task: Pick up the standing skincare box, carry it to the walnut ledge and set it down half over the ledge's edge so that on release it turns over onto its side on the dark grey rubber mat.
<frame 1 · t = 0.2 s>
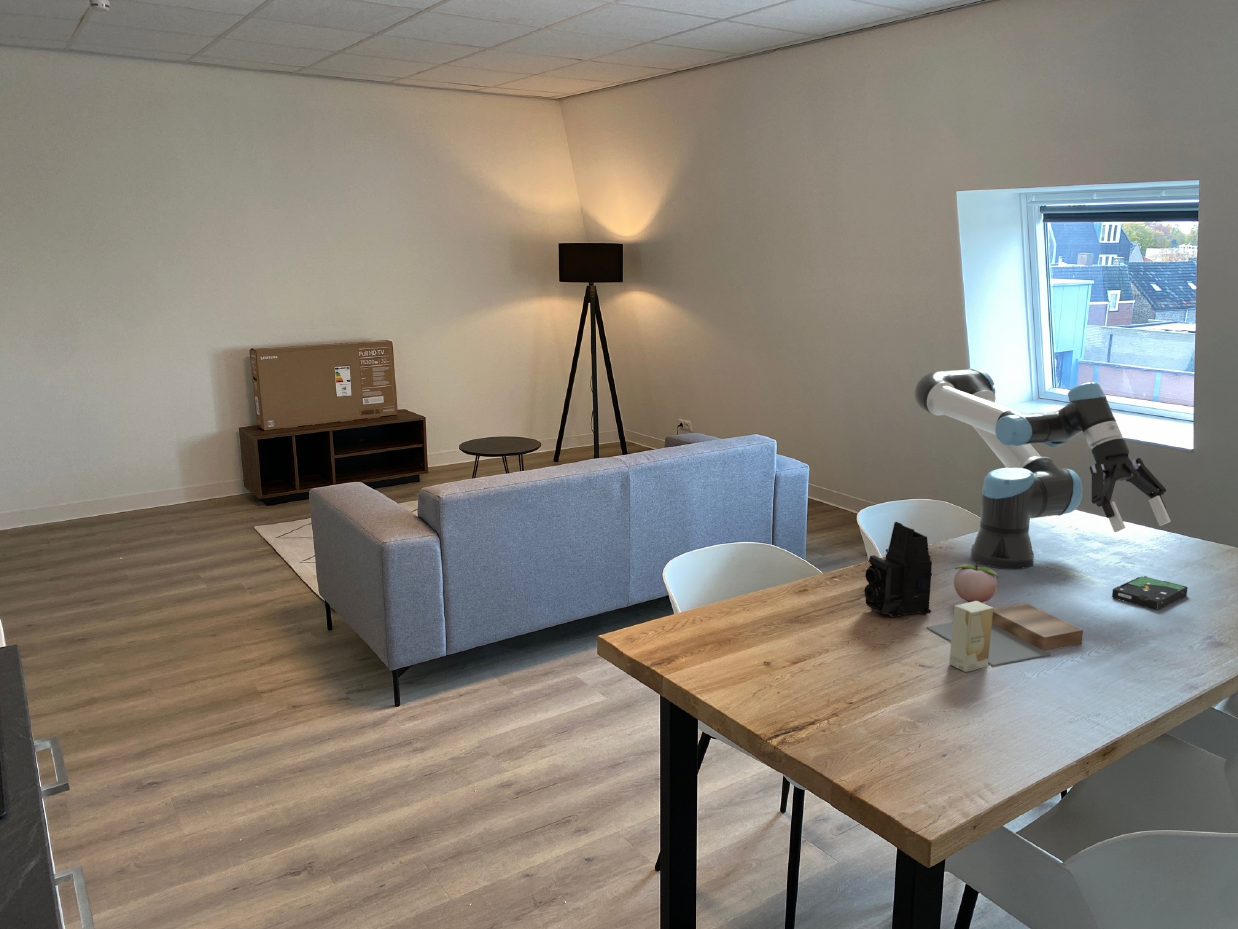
hand: (1142, 527, 215), 16 cm above the table, tool tilted 35°, fingers open, 13 cm apart
decorative fruit: (973, 606, 211), on the table
camera: (894, 613, 207), on the table
disk drive: (1148, 599, 215), on the table
rubber mat: (986, 641, 191), on the table
walnut ledge: (1033, 632, 195), on the table
skincare box: (968, 666, 180), on the table
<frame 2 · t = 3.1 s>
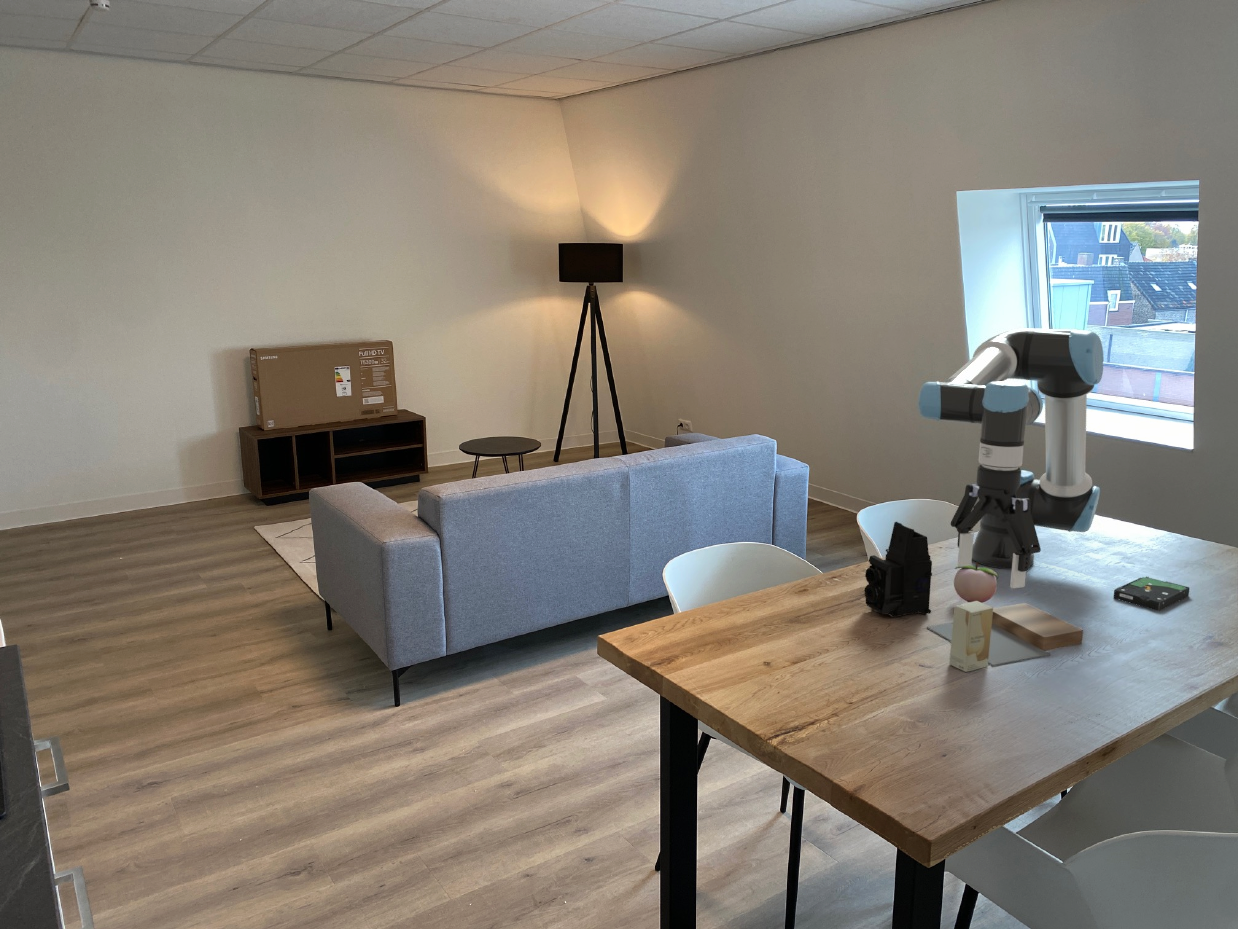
hand: (989, 576, 176), 18 cm above the table, tool pointing down, fingers open, 13 cm apart
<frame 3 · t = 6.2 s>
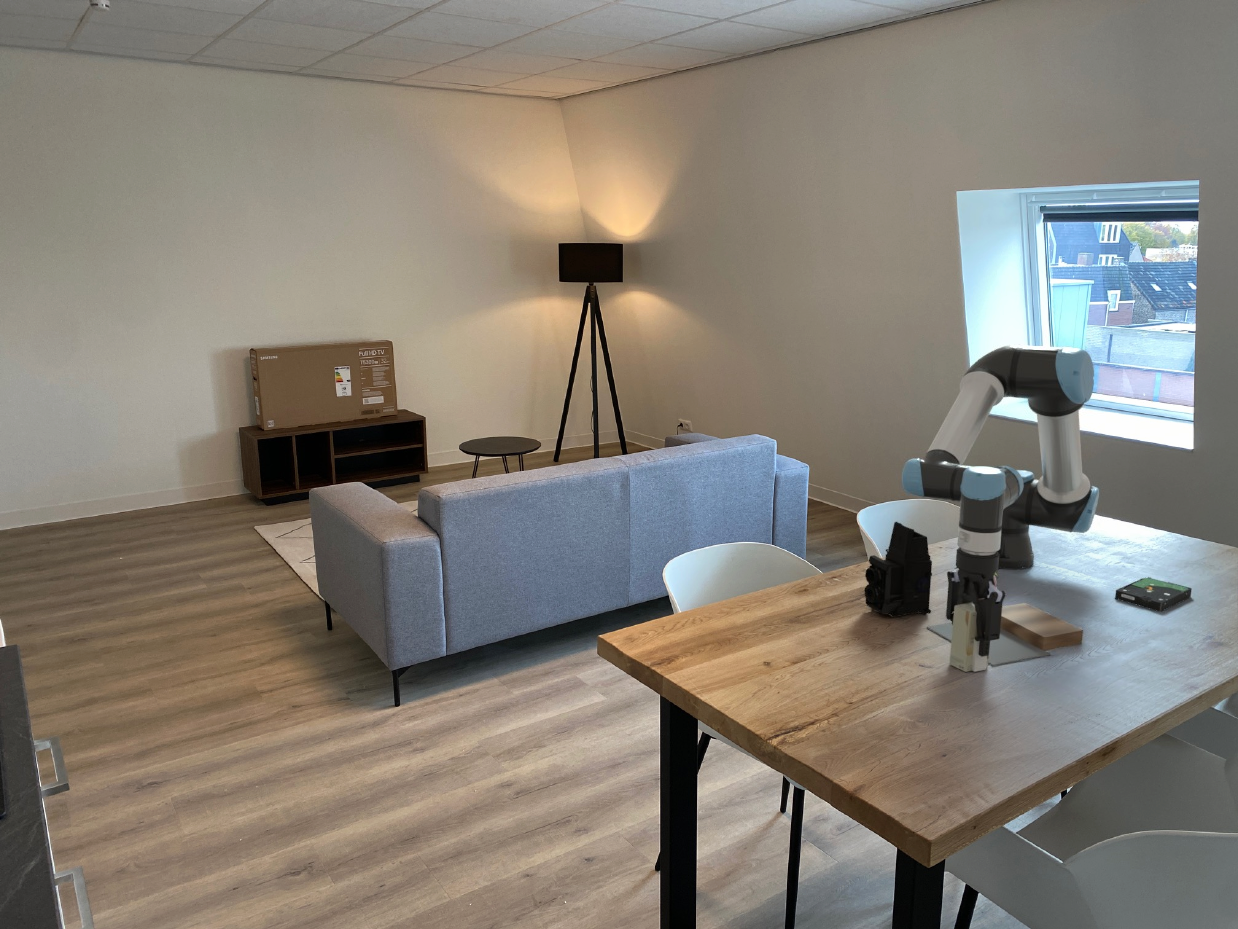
hand: (969, 663, 180), 0 cm above the table, tool pointing down, fingers closed on skincare box, 5 cm apart
skincare box: (968, 666, 180), on the table, touching gripper
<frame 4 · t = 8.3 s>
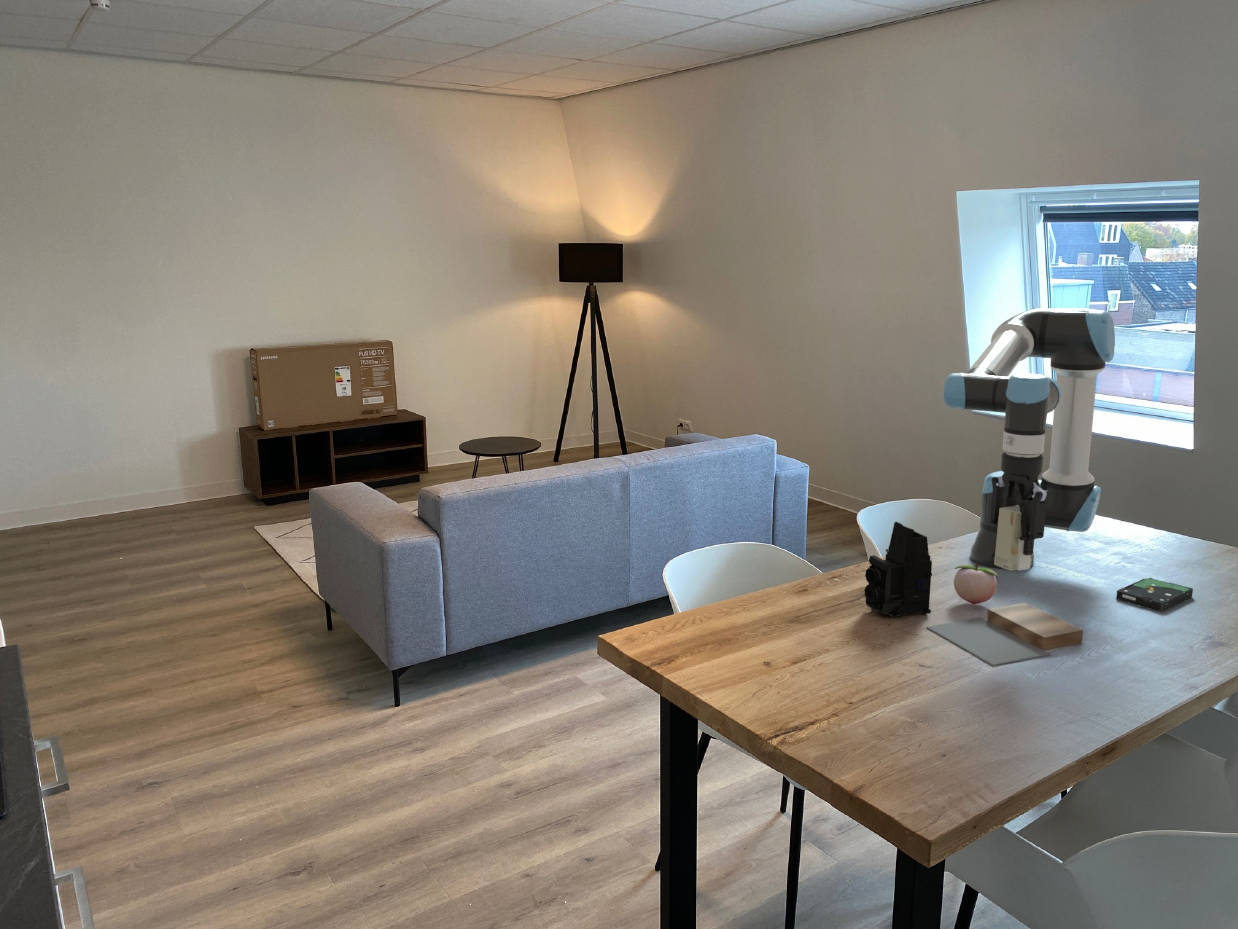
hand: (1013, 564, 189), 16 cm above the table, tool pointing down, fingers closed on skincare box, 5 cm apart
skincare box: (1012, 566, 189), point 16 cm above the table, touching gripper
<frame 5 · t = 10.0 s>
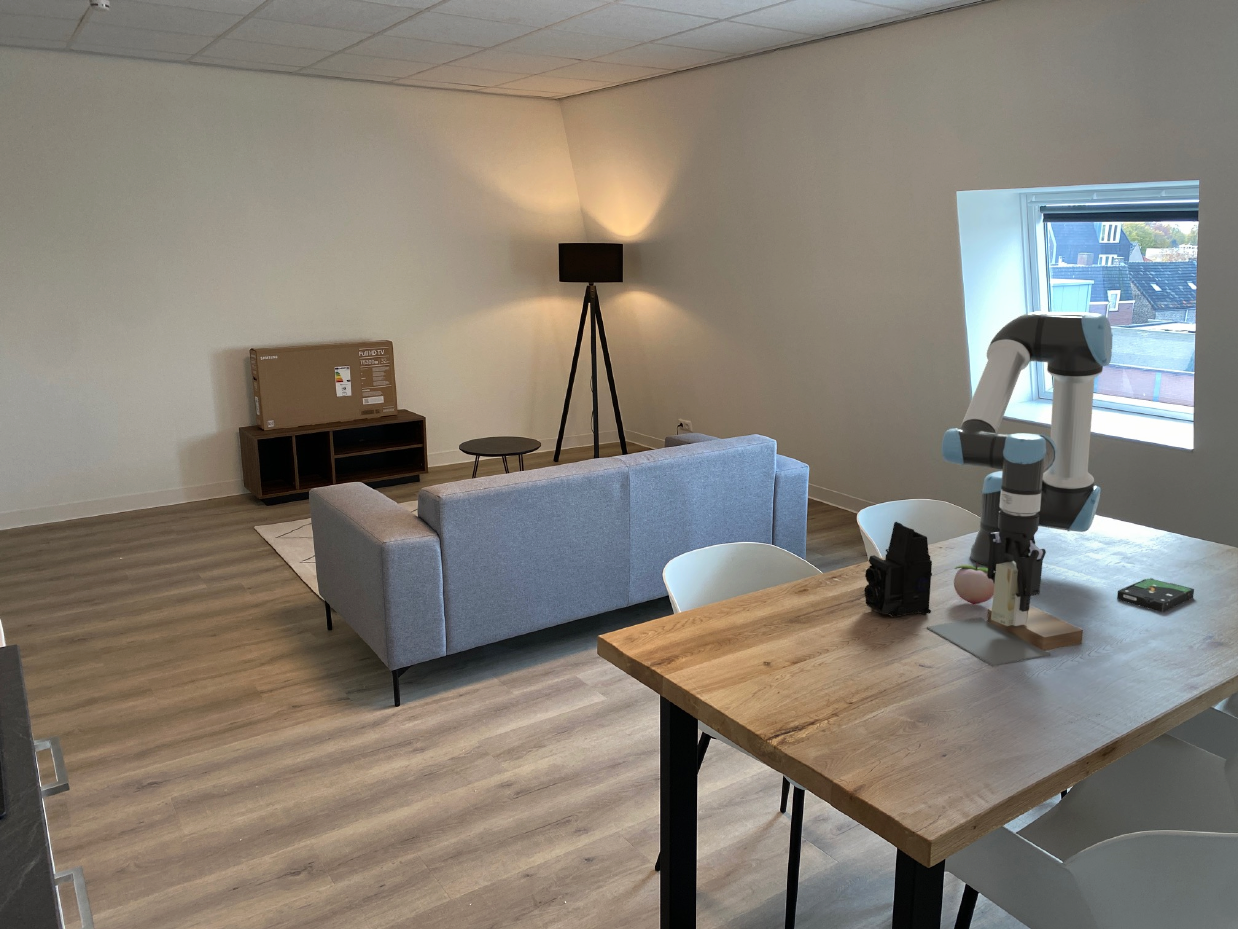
hand: (1009, 619, 192), 4 cm above the table, tool pointing down, fingers closed on skincare box, 5 cm apart
skincare box: (1009, 621, 192), point 3 cm above the table, touching gripper
when the fingers open (4 cm above the table, at t = 10.5 s): skincare box moves 2 cm, resting on rubber mat.
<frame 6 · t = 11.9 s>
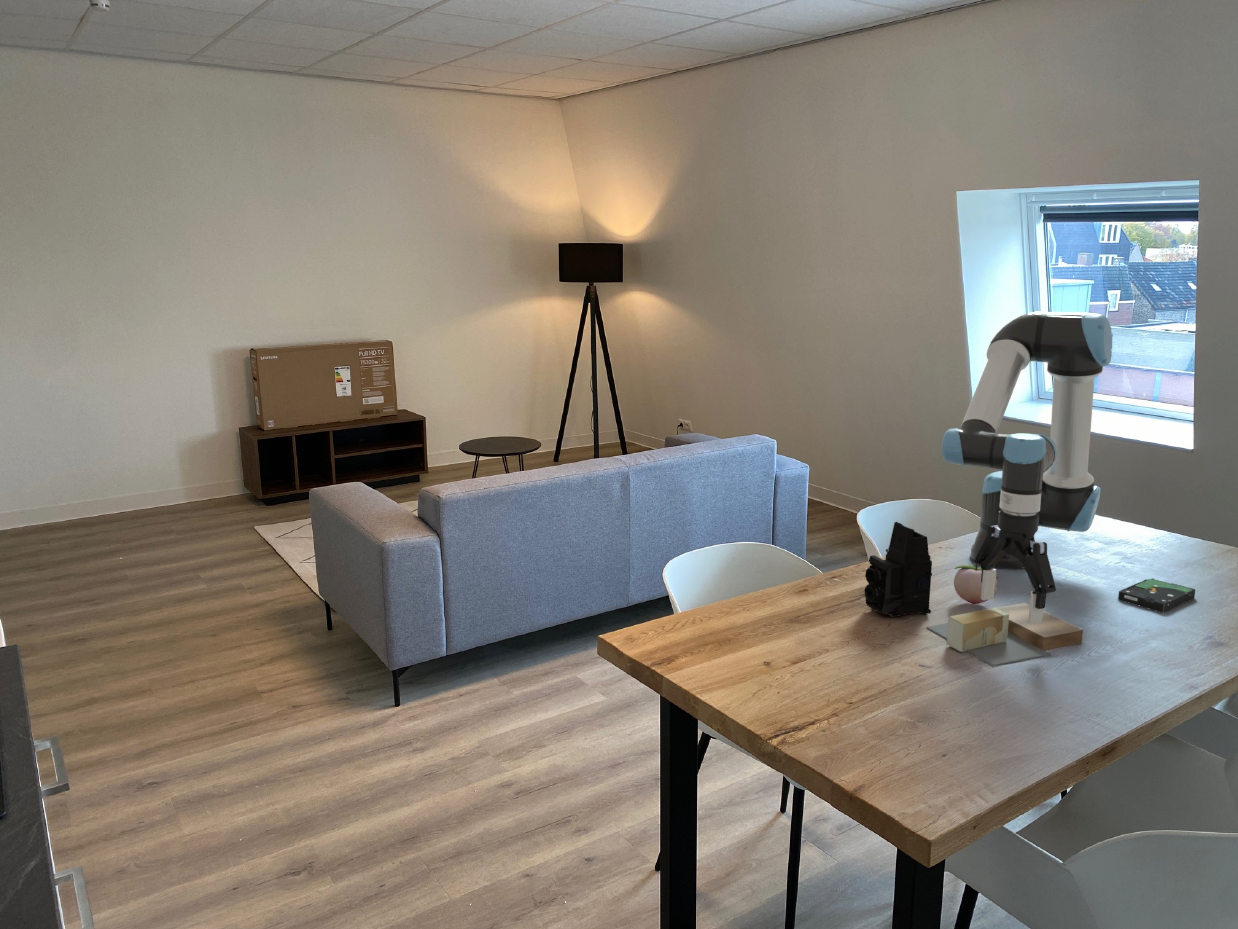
hand: (1010, 610, 192), 6 cm above the table, tool pointing down, fingers open, 13 cm apart
skincare box: (1001, 623, 191), point 4 cm above the table, touching rubber mat
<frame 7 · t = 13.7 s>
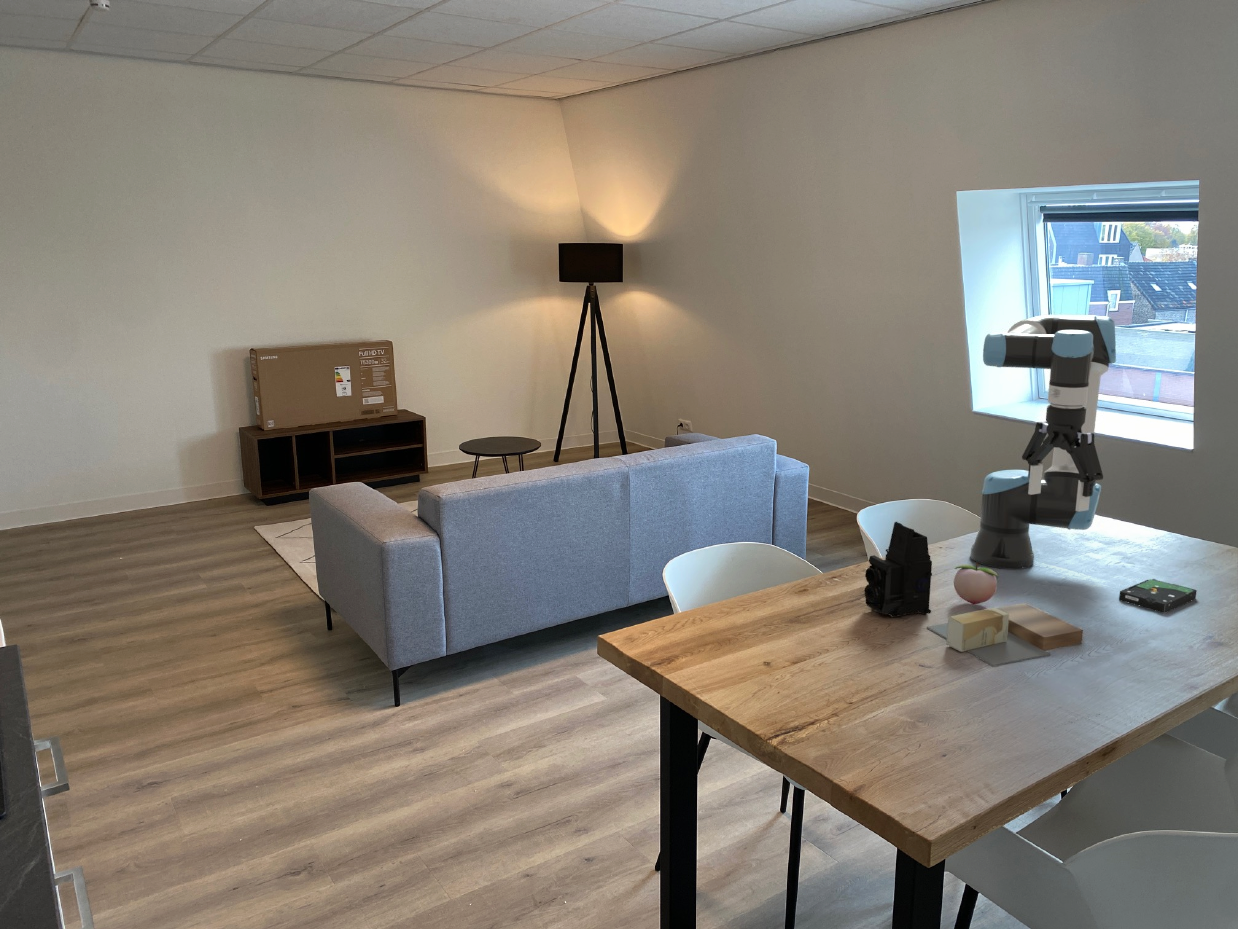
hand: (1057, 501, 201), 25 cm above the table, tool pointing down, fingers open, 13 cm apart
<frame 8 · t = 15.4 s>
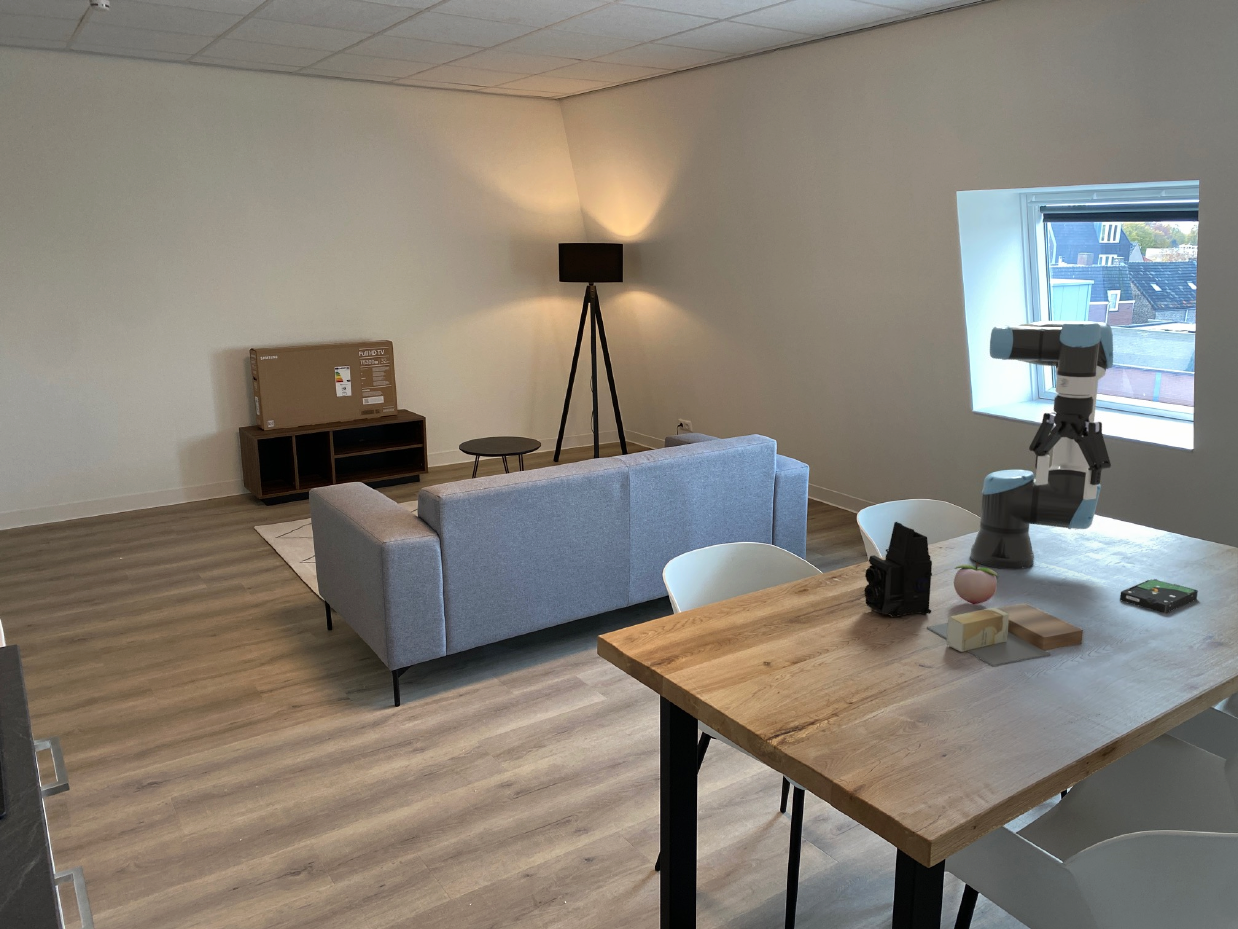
hand: (1064, 491, 203), 27 cm above the table, tool pointing down, fingers open, 13 cm apart
at the end: skincare box tilted 91°; skincare box inside the target area (4.6 cm from its centre), point 3.5 cm above the table; the gripper is holding nothing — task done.
